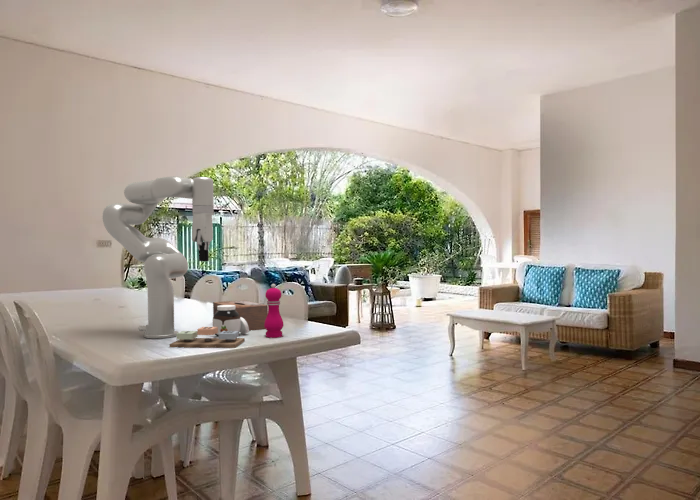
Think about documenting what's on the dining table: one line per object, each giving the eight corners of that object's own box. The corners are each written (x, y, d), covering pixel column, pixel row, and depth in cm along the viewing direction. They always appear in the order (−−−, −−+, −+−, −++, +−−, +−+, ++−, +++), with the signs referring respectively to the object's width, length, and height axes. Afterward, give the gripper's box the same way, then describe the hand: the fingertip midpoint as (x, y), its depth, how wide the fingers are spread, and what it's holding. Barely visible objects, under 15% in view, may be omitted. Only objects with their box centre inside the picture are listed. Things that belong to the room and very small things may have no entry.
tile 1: (176, 339, 192) (176, 333, 192) (182, 336, 197) (182, 330, 197) (191, 339, 191) (191, 333, 191) (197, 336, 197) (197, 330, 197)
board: (169, 347, 189) (169, 341, 189) (182, 341, 201) (182, 335, 201) (235, 347, 187) (235, 342, 187) (244, 341, 199) (244, 335, 199)
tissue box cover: (267, 329, 227) (267, 305, 227) (234, 333, 219) (233, 307, 219) (244, 322, 249) (244, 299, 249) (213, 324, 241) (213, 302, 241)
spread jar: (209, 337, 209) (209, 306, 209) (226, 332, 219) (226, 303, 219) (236, 338, 205) (236, 307, 204) (252, 334, 215) (252, 304, 215)
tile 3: (218, 339, 191) (218, 333, 191) (223, 336, 196) (223, 330, 196) (234, 339, 190) (234, 333, 190) (238, 336, 196) (238, 330, 196)
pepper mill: (280, 338, 204) (279, 284, 204) (261, 337, 206) (260, 284, 206) (286, 335, 212) (285, 283, 211) (268, 334, 213) (267, 283, 213)
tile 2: (197, 335, 191) (197, 328, 191) (202, 332, 197) (202, 326, 197) (213, 335, 191) (212, 328, 191) (218, 332, 196) (217, 326, 196)
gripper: (200, 212, 210) (200, 260, 210) (185, 210, 195) (186, 262, 195) (219, 212, 209) (220, 260, 209) (206, 209, 194) (207, 261, 194)
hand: (203, 261), depth 202 cm, fingers closed
